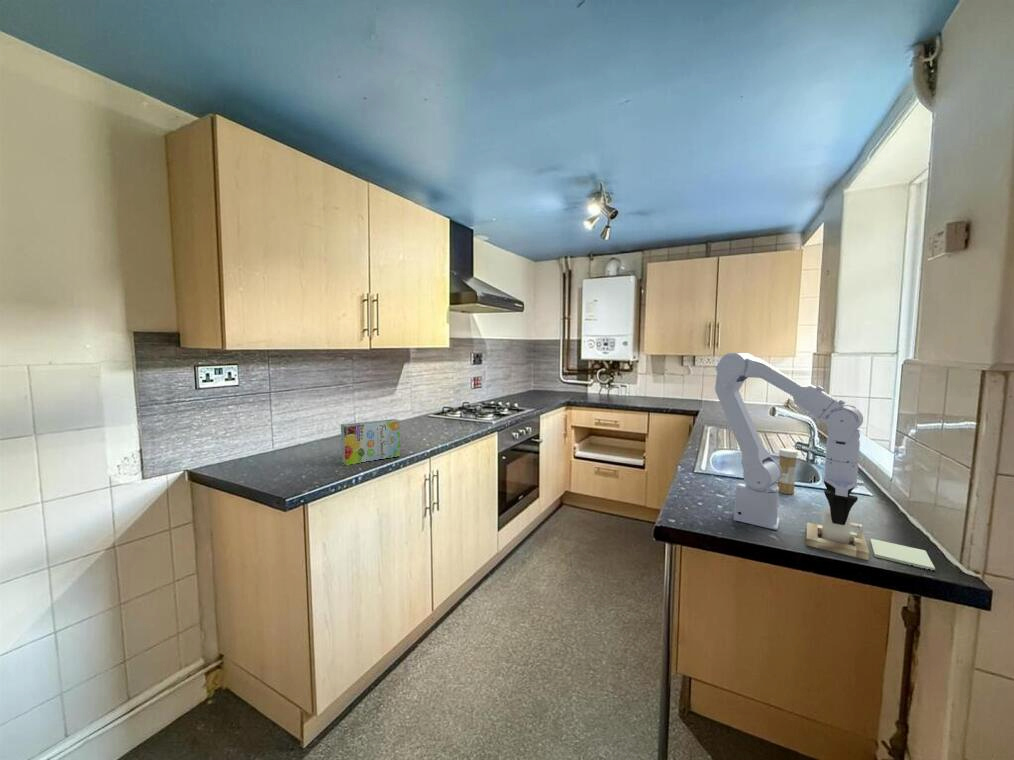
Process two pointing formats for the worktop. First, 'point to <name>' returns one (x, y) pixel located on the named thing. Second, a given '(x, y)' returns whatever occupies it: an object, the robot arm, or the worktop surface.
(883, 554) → the sage board
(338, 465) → the worktop surface
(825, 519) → the jug
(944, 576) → the worktop surface
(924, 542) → the worktop surface
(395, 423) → the snack box
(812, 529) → the collar
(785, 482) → the sprinkles bottle
